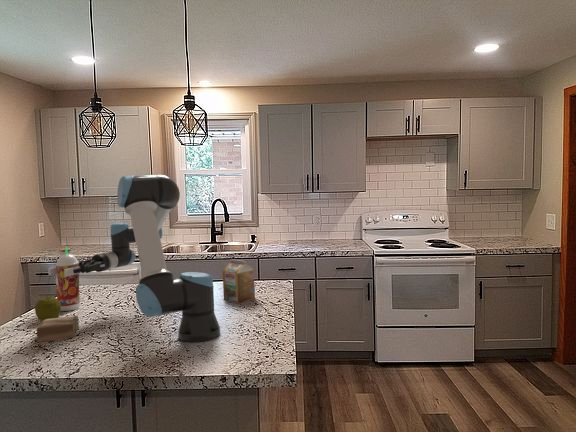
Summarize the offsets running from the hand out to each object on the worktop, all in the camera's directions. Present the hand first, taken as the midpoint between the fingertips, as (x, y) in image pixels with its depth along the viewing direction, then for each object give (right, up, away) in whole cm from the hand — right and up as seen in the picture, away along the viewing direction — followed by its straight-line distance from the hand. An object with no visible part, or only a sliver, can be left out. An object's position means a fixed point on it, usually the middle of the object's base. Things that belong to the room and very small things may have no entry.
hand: (57, 272), depth 171 cm
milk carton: (+65, -18, +43) cm, 80 cm away
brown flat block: (+1, -24, 0) cm, 24 cm away
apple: (-13, -23, +19) cm, 33 cm away
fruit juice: (-13, -22, +37) cm, 45 cm away
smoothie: (+2, -11, +5) cm, 12 cm away
